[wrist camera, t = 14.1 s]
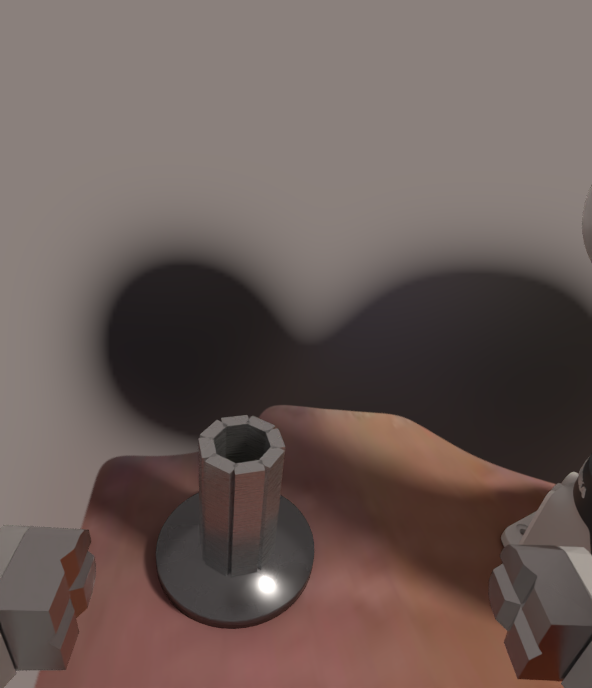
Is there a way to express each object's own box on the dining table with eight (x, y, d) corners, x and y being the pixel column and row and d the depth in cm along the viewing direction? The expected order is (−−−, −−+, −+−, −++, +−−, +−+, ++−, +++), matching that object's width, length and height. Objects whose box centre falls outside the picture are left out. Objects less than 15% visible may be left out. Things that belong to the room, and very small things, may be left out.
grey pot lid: (251, 472, 54) (253, 435, 51) (344, 563, 46) (353, 525, 43) (128, 539, 46) (123, 499, 43) (214, 667, 37) (215, 627, 34)
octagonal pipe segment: (263, 509, 48) (271, 412, 42) (280, 567, 43) (292, 466, 37) (196, 520, 47) (195, 420, 40) (206, 582, 41) (206, 478, 35)
